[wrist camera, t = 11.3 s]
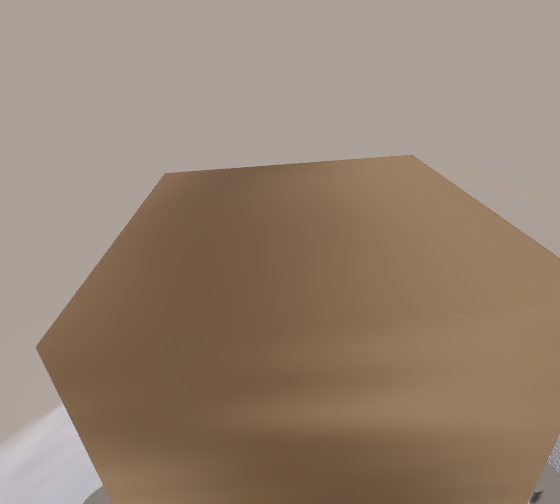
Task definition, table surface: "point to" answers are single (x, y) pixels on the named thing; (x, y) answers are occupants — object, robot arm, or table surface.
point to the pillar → (314, 342)
